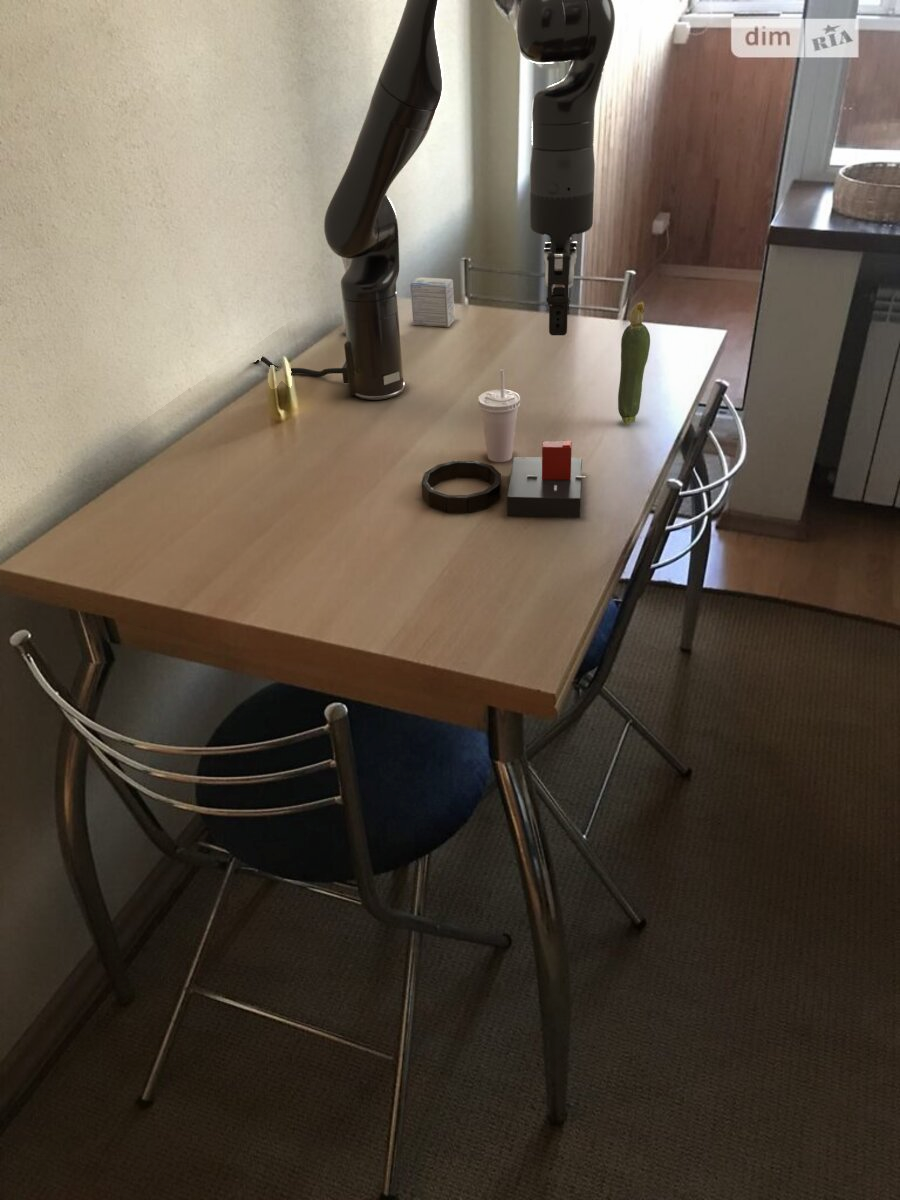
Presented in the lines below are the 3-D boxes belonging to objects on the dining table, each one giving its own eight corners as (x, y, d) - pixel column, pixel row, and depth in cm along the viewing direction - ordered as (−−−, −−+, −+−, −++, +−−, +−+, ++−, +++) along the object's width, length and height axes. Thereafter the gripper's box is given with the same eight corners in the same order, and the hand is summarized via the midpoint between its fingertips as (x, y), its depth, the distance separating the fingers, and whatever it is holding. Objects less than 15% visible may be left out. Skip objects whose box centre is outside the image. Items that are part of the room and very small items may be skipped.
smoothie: (517, 467, 143) (517, 379, 135) (475, 465, 144) (472, 377, 136) (523, 448, 148) (523, 362, 140) (482, 446, 150) (480, 360, 142)
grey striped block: (455, 320, 198) (453, 278, 193) (448, 328, 195) (446, 285, 190) (420, 318, 200) (417, 276, 195) (412, 325, 197) (409, 283, 192)
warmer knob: (541, 479, 133) (542, 445, 130) (542, 473, 135) (542, 439, 132) (570, 479, 133) (571, 445, 130) (570, 473, 134) (571, 440, 131)
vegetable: (613, 417, 156) (620, 295, 145) (640, 415, 156) (649, 293, 145) (620, 428, 152) (627, 304, 141) (646, 426, 153) (656, 302, 141)
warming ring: (417, 512, 134) (416, 496, 132) (429, 474, 143) (428, 459, 141) (497, 514, 132) (496, 498, 131) (504, 476, 141) (503, 461, 140)
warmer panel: (507, 515, 132) (506, 495, 130) (513, 475, 141) (513, 455, 140) (584, 517, 130) (585, 497, 128) (585, 476, 140) (586, 457, 138)
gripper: (593, 201, 106) (588, 343, 115) (594, 173, 117) (589, 304, 126) (525, 202, 107) (526, 343, 116) (533, 174, 118) (533, 304, 127)
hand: (559, 322), depth 121 cm, fingers open, 8 cm apart
